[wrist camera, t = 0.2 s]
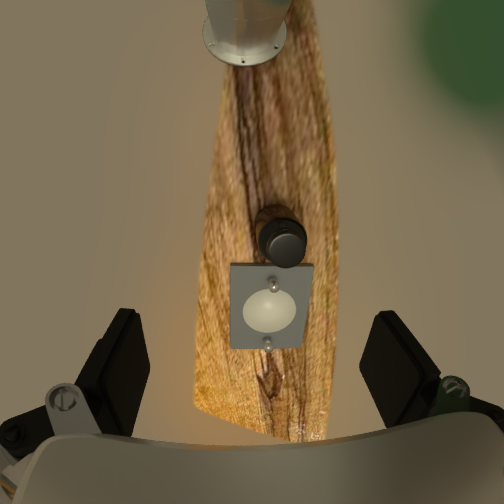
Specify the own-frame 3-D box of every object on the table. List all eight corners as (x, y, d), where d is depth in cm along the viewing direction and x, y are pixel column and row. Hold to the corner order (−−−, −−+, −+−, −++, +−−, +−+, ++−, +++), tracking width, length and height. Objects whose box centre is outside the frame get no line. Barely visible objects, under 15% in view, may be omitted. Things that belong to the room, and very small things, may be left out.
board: (230, 262, 49) (230, 274, 45) (312, 263, 50) (318, 274, 46) (230, 344, 56) (230, 359, 52) (299, 343, 56) (303, 357, 53)
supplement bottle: (304, 225, 47) (324, 254, 36) (271, 251, 48) (282, 287, 37) (278, 194, 45) (292, 214, 34) (244, 221, 46) (247, 249, 35)
